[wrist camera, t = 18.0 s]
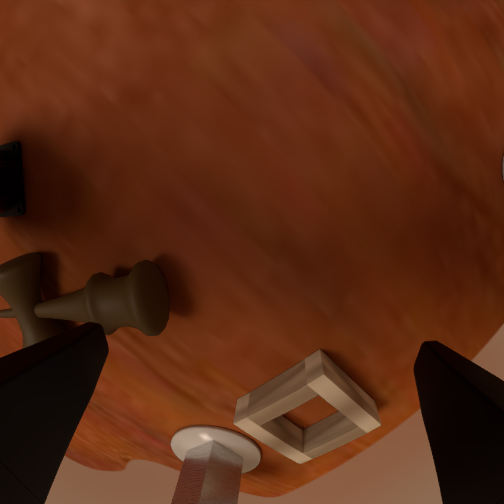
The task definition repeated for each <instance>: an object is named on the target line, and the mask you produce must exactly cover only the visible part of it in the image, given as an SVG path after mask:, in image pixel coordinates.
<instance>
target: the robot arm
mask: <svg viewBox="0 0 504 504" xmlns="http://www.w3.org/2000/svg"><path fill="white" fill-rule="evenodd" d="M20 209H21V210H20ZM25 211H26V209H25V200H24V191H23V180H22V166H21V145H20V142H19V141H14V142H10V143H7V144H4V145H1V146H0V217H6V216H21V215H23V214H25ZM108 350H109V349H108V343H107V340H106V336H105V332H104V329H103V326H102V325H101V324H99V323H94V322H87V323H84V324H82V325H80V326H77V327H75V328H72V329H70V330H67V331H65V332H62V333H60V334H58V335H55V336H53V337H50V338H48V339H45V340H43V341H40V342H38V343H36V344H33V345H31V346H28V347H26V348H23V349H21V350H18V351H16V352H13V353H11V354H9V355H6V356H4V357H1V358H0V504H44V503H45V501H46V499H47V496H48V493H49V491H50V488H51V486H52V483H53V481H54V479H55V476H56V474H57V471H58V469H59V466H60V464H61V462H62V460H63V457H64V455H65V453H66V450H67V448H68V446H69V444H70V441H71V439H72V437H73V435H74V433H75V430H76V428H77V426H78V424H79V422H80V420H81V418H82V416H83V413H84V411H85V409H86V407H87V405H88V403H89V401H90V399H91V397H92V395H93V392H94V390H95V387H96V384H97V382H98V379H99V376H100V374H101V371H102V368H103V366H104V363H105V361H106V358H107V355H108ZM414 376H415V381H416V386H417V391H418V396H419V402H420V407H421V413H422V417H423V421H424V425H425V428H426V432H427V436H428V440H429V443H430V447H431V451H432V455H433V459H434V464H435V468H436V472H437V477H438V482H439V486H440V492H441V497H442V502H443V504H504V381H503V380H501V379H500V378H498V377H496V376H495V375H493V374H491V373H490V372H488V371H486V370H485V369H483V368H481V367H480V366H478V365H477V364H475V363H473V362H472V361H470V360H468V359H467V358H465V357H463V356H462V355H460V354H458V353H457V352H455V351H453V350H452V349H450V348H448V347H447V346H445V345H443V344H441V343H440V342H438V341H425V342H423V343H422V345H421V347H420V350H419V353H418V356H417V358H416V361H415V364H414Z"/></svg>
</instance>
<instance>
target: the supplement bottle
mask: <svg viewBox="0 0 504 504" xmlns="http://www.w3.org/2000/svg"><path fill="white" fill-rule="evenodd" d="M502 172H503V179H504V156H503V163H502Z"/></svg>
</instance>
